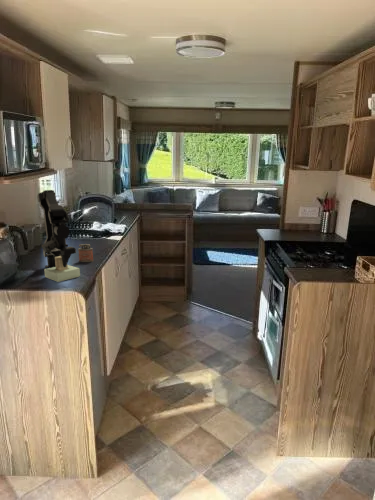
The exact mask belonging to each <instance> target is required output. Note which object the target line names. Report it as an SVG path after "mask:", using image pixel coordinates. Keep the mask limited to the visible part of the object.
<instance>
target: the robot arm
mask: <svg viewBox="0 0 375 500" xmlns="http://www.w3.org/2000/svg"><path fill="white" fill-rule="evenodd" d="M37 203H38V205H39V206H40V208H41V209H42V211H43V216H44V224H45V225H44V227H45V233H46V238H45V240H44V243H43V244H41V247H42V248H41V249H42V250H43V251H42V252H43V253H42V254H43V257H44V258H46V261H47V265H44V267H46V268H47V269H48V268H52V267H56V265H55V257H58V256H61V257H62V262H63V266H64V267H66V265H68V262H69V260H70V258H71V256H72V255H73V254H77V248H75V247H74V246H69V244H67V240H66V239H68V237H69V235H70V228H69V227H68V226H67V225H66V224H68V223H69V220H70V219H69V216H68V213H67V211H66V210H65V208H64V207H63V206H62V205H60V204H59V203H58V200H57V196H56V192H55V190H53V189H45V190H43V191H42V192H39V193H38V194H37Z"/></svg>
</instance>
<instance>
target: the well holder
mask: <svg viewBox="0 0 375 500" xmlns="http://www.w3.org/2000/svg"><path fill="white" fill-rule="evenodd" d="M67 266H68V269H66V270H62V271H58V270H56V267H52V268H48V267H47V268H44V277H45V278H47V279H49V280H52V281H55V282H57V283H59V282H63V281H67V280H72V279H75V278H78V277H81V271H80V270H81V269H80V268H81V267H80V268H79V267H75V266H72V265H69V264H67Z"/></svg>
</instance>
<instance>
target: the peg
mask: <svg viewBox="0 0 375 500" xmlns="http://www.w3.org/2000/svg"><path fill="white" fill-rule="evenodd" d="M55 265H56V270H58V271H62V270H66V269H68V266H67V265H68V264H67V265H66V267H64V266H63V262H62V257H61V256H58V257H55Z"/></svg>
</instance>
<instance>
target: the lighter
mask: <svg viewBox="0 0 375 500" xmlns="http://www.w3.org/2000/svg"><path fill="white" fill-rule="evenodd" d="M78 246H79V247H80V248H77V250H78V262H79V263H92V262H94V255H93V247H91V244H87V243H85V244H84V243H83V244H82V243H81V244H79V245H78Z"/></svg>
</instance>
